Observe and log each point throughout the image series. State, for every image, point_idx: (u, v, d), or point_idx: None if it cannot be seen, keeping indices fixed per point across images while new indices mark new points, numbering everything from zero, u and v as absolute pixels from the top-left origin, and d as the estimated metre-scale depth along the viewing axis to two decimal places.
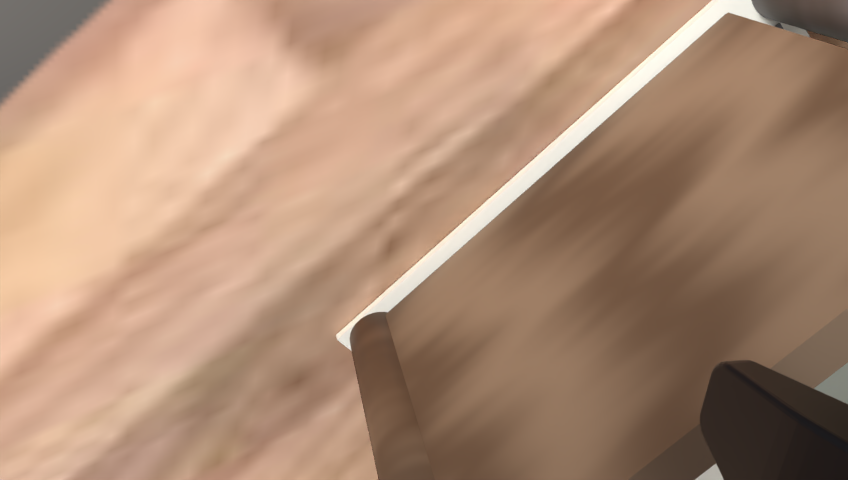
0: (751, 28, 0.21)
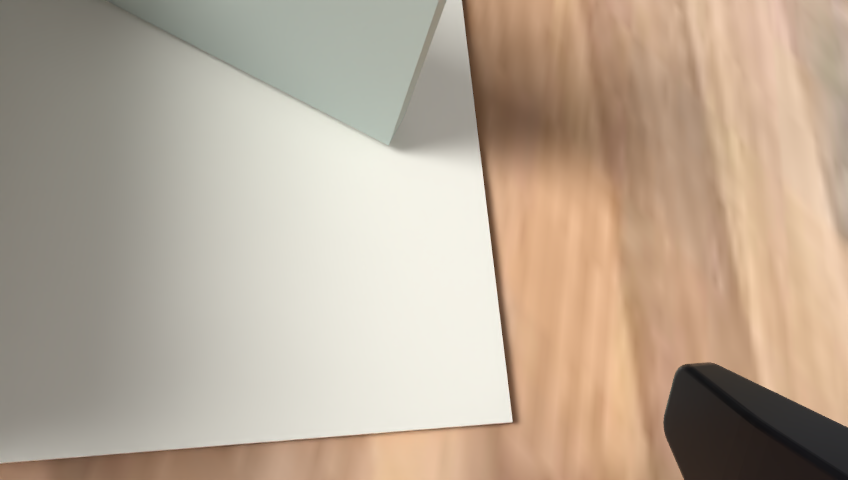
0: None
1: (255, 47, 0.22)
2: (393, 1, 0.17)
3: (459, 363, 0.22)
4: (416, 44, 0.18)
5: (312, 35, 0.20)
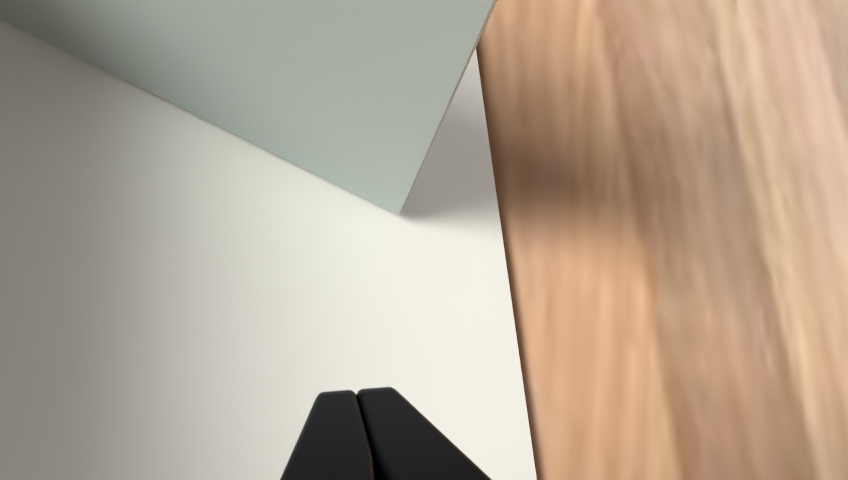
0: None
1: (247, 111, 0.19)
2: (407, 71, 0.15)
3: (481, 464, 0.20)
4: (433, 116, 0.16)
5: (312, 103, 0.17)
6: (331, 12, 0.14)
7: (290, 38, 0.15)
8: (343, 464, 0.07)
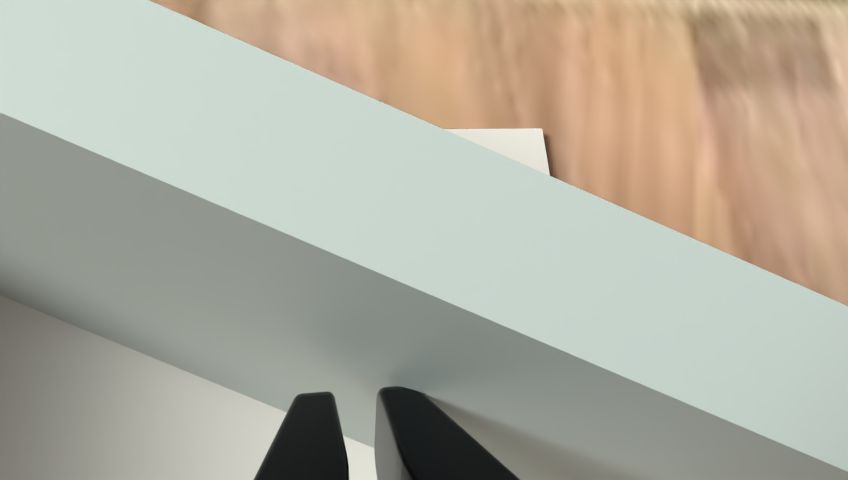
0: None
1: (266, 393, 0.13)
2: (570, 458, 0.08)
3: None
4: None
5: None
6: (439, 392, 0.08)
7: (351, 382, 0.09)
8: (316, 467, 0.07)
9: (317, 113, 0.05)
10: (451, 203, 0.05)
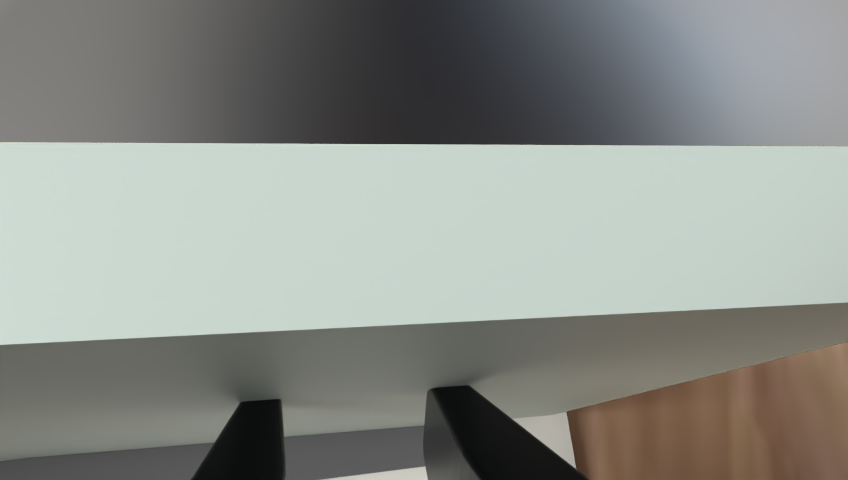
0: None
1: (329, 427, 0.12)
2: (685, 368, 0.09)
3: None
4: (697, 376, 0.10)
5: None
6: (566, 369, 0.08)
7: None
8: (251, 473, 0.06)
9: (434, 184, 0.05)
10: (598, 215, 0.05)
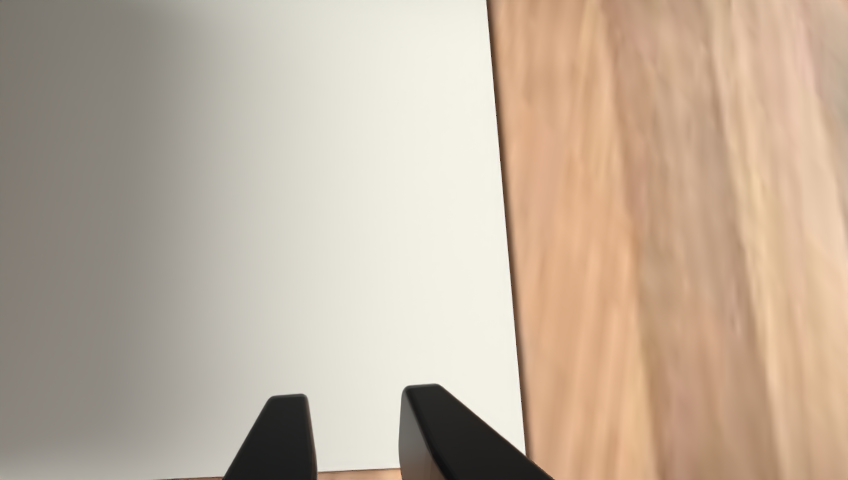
0: None
1: None
2: None
3: (474, 400, 0.22)
4: None
5: None
6: None
7: None
8: (284, 470, 0.07)
9: None
10: None
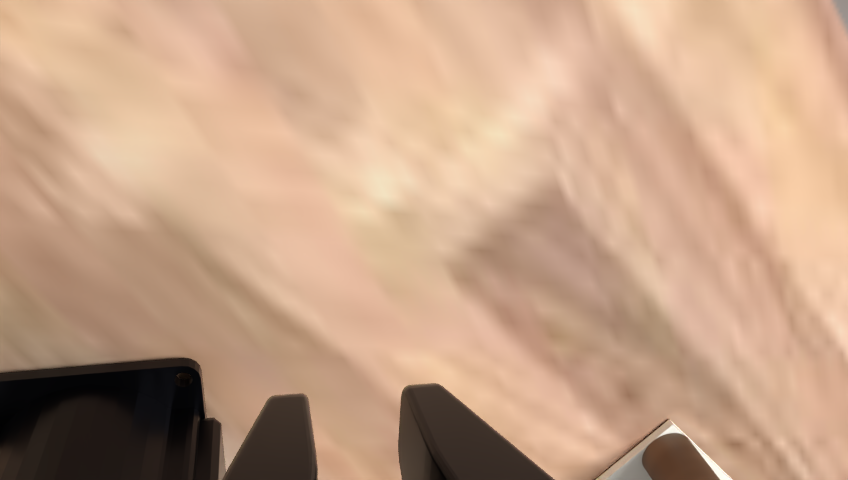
0: None
1: None
2: None
3: None
4: None
5: None
6: None
7: None
8: (284, 470, 0.07)
9: None
10: None
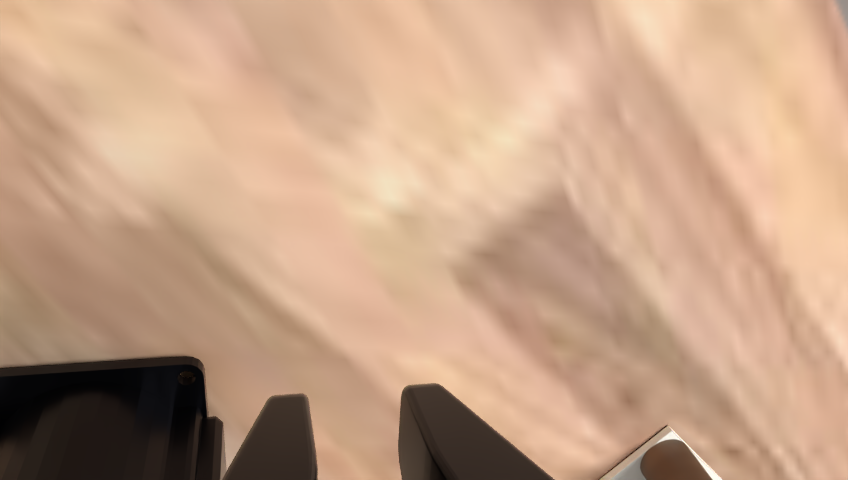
0: None
1: None
2: None
3: None
4: None
5: None
6: None
7: None
8: (284, 470, 0.07)
9: None
10: None
